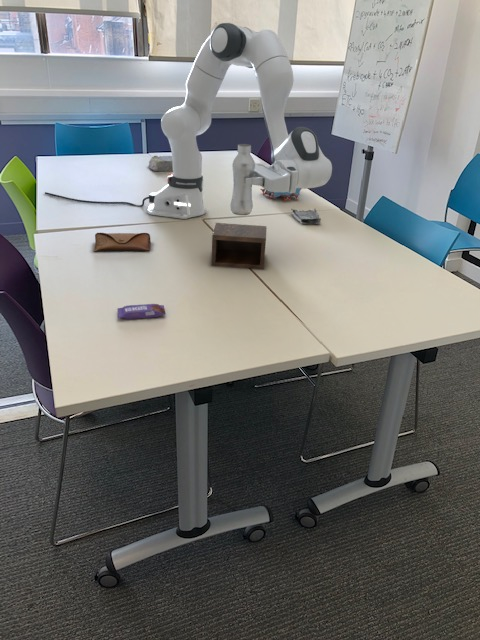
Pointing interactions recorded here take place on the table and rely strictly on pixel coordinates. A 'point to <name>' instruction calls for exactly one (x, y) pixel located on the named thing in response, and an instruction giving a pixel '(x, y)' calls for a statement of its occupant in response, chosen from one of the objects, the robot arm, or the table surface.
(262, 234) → the dark wooden box
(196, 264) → the table surface
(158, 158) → the geological specimen
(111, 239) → the sunglasses case
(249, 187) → the plastic bottle
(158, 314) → the snack package
